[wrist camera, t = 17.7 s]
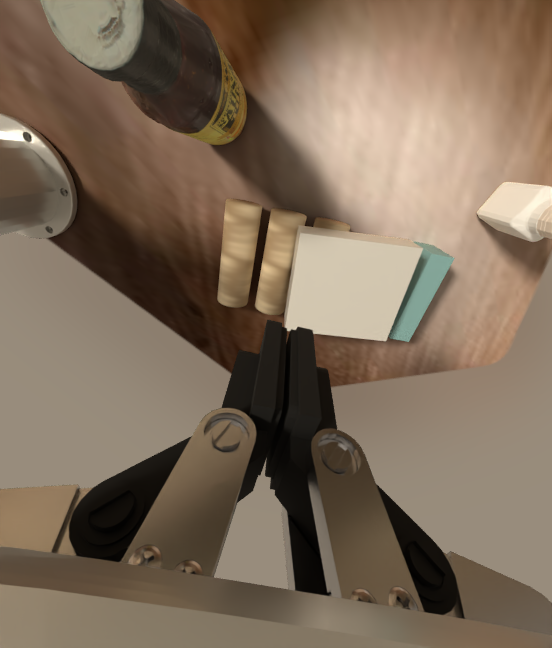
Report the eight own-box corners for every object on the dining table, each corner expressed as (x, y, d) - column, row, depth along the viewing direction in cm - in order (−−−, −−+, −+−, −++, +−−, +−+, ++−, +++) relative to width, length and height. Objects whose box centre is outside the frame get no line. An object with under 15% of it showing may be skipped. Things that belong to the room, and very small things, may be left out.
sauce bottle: (252, 144, 29) (194, 122, 12) (194, 147, 29) (56, 129, 12) (246, 60, 25) (153, -143, 8) (180, 65, 26) (-36, -120, 9)
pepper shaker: (496, 231, 32) (566, 255, 24) (472, 213, 31) (535, 232, 23) (528, 198, 30) (615, 213, 22) (502, 178, 29) (583, 186, 21)
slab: (284, 315, 34) (284, 330, 31) (298, 225, 29) (300, 233, 26) (377, 325, 35) (386, 341, 32) (408, 239, 29) (423, 248, 26)
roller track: (221, 290, 38) (213, 303, 34) (229, 197, 31) (222, 201, 28) (373, 320, 39) (381, 336, 35) (410, 236, 33) (424, 245, 29)
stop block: (378, 318, 39) (389, 338, 34) (413, 241, 33) (432, 253, 29) (395, 321, 39) (408, 341, 34) (433, 245, 33) (454, 258, 29)
